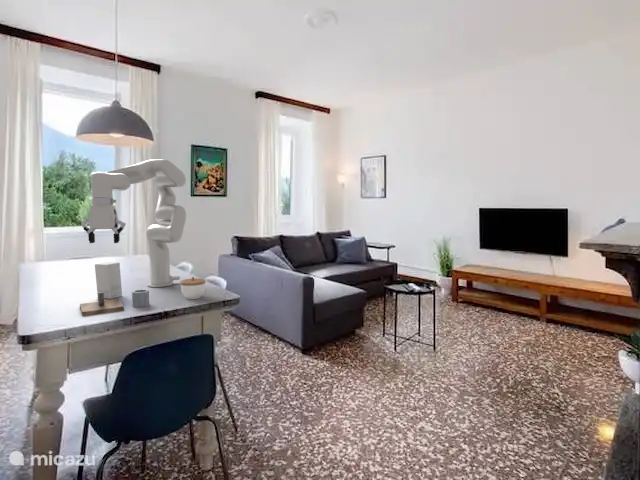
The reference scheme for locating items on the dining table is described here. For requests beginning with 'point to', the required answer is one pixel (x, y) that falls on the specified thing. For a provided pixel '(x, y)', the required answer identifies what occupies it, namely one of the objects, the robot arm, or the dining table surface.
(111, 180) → the robot arm
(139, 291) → the roll
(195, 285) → the lidded jar
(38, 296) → the dining table surface
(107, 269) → the skincare box
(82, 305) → the roll stand
